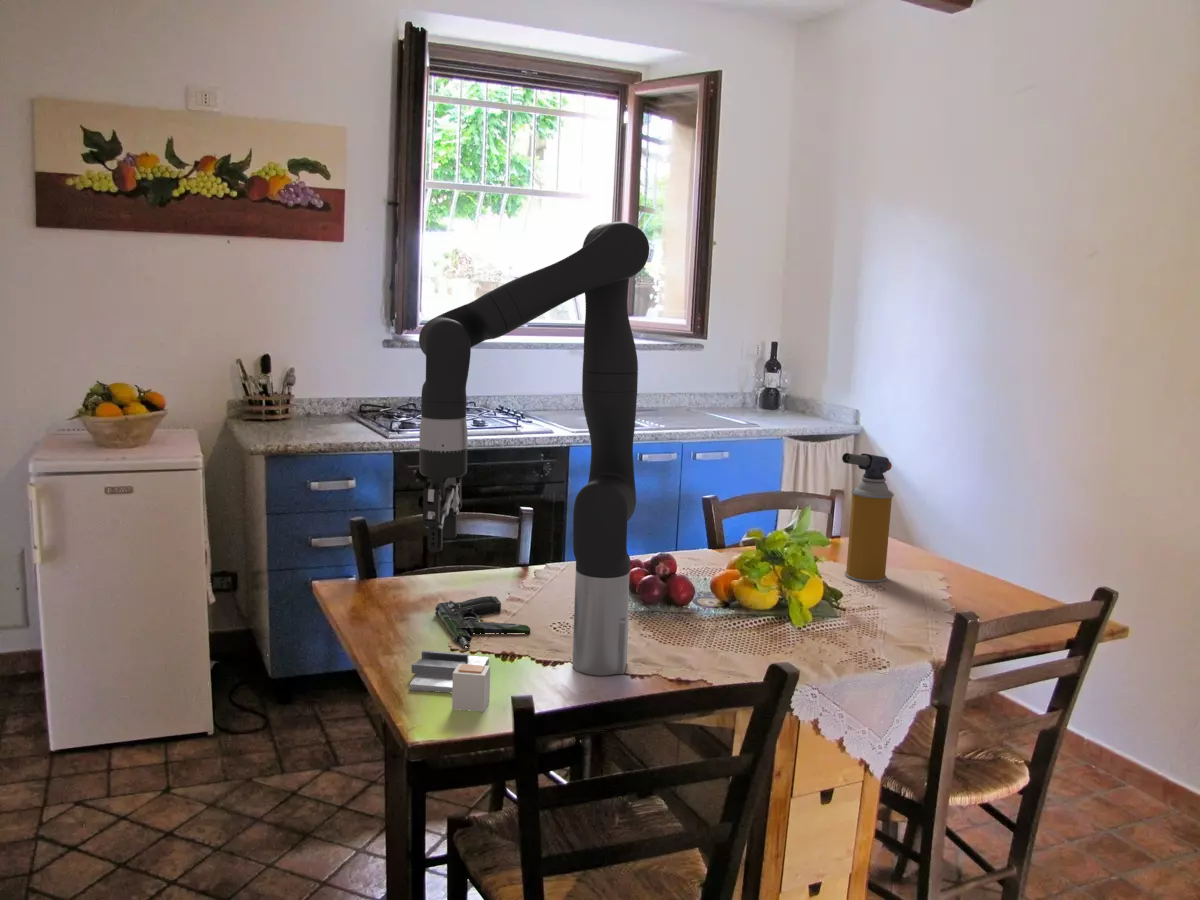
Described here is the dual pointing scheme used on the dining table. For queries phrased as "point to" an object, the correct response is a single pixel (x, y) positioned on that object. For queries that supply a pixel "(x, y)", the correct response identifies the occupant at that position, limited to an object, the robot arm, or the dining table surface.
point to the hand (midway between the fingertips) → (442, 544)
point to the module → (471, 687)
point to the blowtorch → (869, 519)
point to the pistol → (474, 619)
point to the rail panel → (440, 669)
